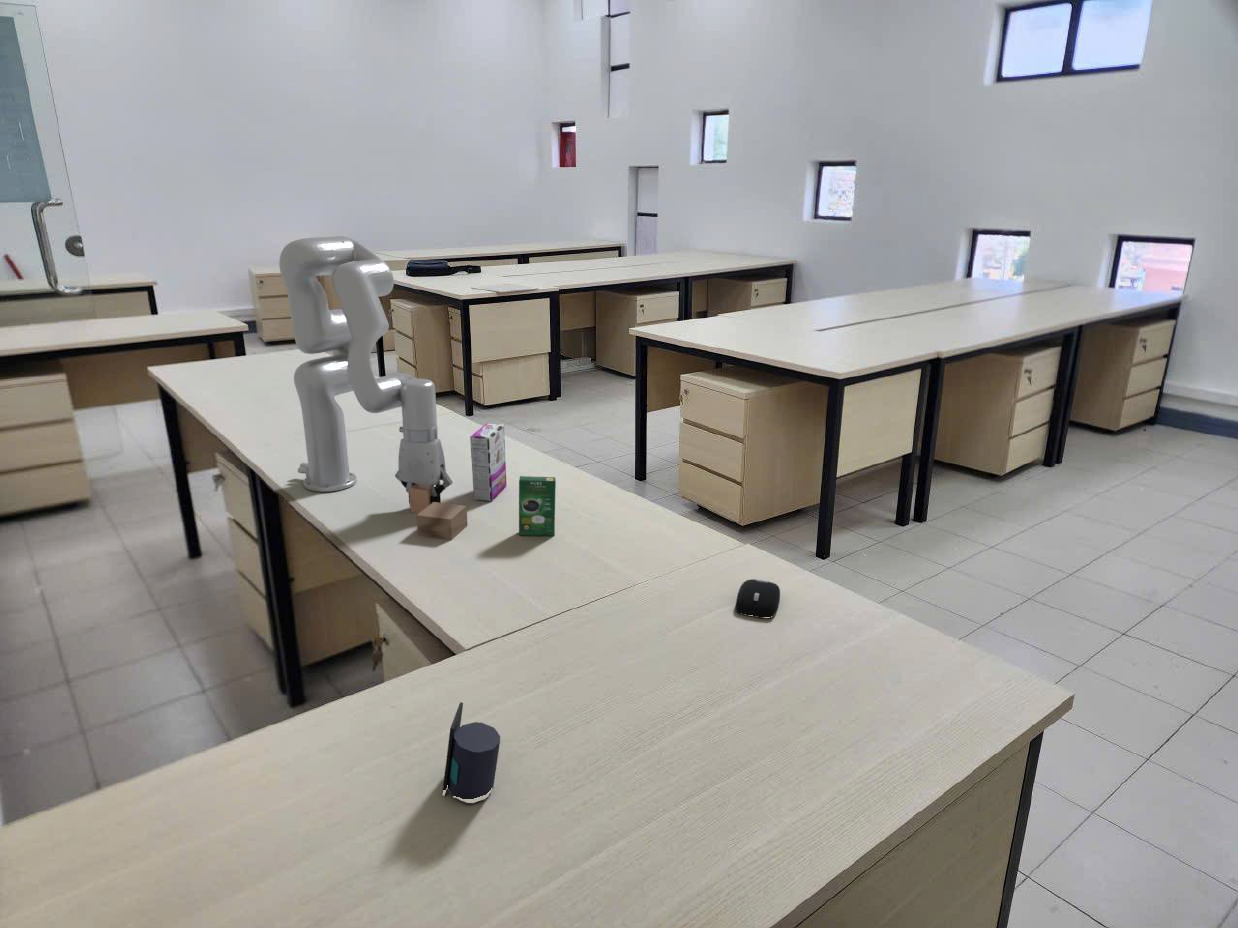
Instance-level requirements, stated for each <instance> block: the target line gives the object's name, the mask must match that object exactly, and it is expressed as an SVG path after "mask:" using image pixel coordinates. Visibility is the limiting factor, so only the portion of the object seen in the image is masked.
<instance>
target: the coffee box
mask: <svg viewBox="0 0 1238 928" xmlns="http://www.w3.org/2000/svg"><path fill="white" fill-rule="evenodd" d="M556 484H557V482H556V477H555V476H531V475H530V476H529V475H528V476H527V475H526V476H523V475H520V476H519V479H518V536H525V537H530V536H536V537H538V536H542V537H543V536H544V537H549V536H550V537H554V536H555V532H556V531H555V528H556V525H555V524H556V523H555V522H556V517H555V516H556V490H557V489H556V488H557V487H556Z"/></svg>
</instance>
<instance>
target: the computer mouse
mask: <svg viewBox="0 0 1238 928" xmlns="http://www.w3.org/2000/svg"><path fill="white" fill-rule="evenodd" d="M780 600H781V589H780V587H779V585H778V584H776V583H774V582H771V581H768V580H767V581H766V580H764V579H763V580H762V579H753V578H752V579H747V580H745V581H743V582H742V583H741V585H740V587H739V589H738V592H737V596H736V601H735V611H736V610H737V611H736V612H737V613H738V612H739V613H738V614H740V613H742V614H746V615H753V616H758V617H771V616H773V615H774V616H775V615H776V613H777V610H778V607H779V605H780V602H781V601H780ZM742 614H741V615H742ZM746 615H745V616H746ZM774 616H773V617H774Z"/></svg>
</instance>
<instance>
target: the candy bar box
mask: <svg viewBox="0 0 1238 928" xmlns="http://www.w3.org/2000/svg"><path fill="white" fill-rule="evenodd" d="M505 444H506V443H505V424H503V423H502V424H500V423H492V422H491V423H489V422H488V423H485V424H484V425H482V426H481V427H480V428H479V429H477V430H476V431H475V432H474V433H473V434H471V435H470V454H471V455H470V457H471V469H472V470H471V472H472V473H471V474H472V489H473V500H474V501H477V502H478V501H480V502H481V501H482V502H493V501H494V500H495V499H496V498H497V497H498V496H499V494H501V492H502V491H503V490H504V489H505V488H506V487H507V470H506V469H507V467H506V445H505Z"/></svg>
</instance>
